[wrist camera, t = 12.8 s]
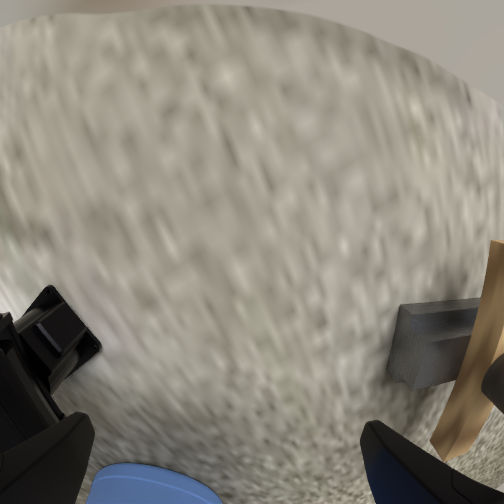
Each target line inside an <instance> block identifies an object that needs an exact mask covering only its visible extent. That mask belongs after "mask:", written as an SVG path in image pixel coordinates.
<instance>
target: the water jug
mask: <svg viewBox="0 0 504 504" xmlns="http://www.w3.org/2000/svg"><path fill="white" fill-rule="evenodd" d="M86 504H222V501H221V500H220V498H219V497H218V496H217V495H216V494H215V493H214V492H213V491H212V490H211V489H209V488H208V487H207V486H205V485H203V484H202V483H200V482H198V481H196V480H194V479H192V478H190V477H188V476H185V475H183V474H180V473H177V472H174V471H171V470H168V469H164V468H160V467H156V466H151V465H145V464H136V463H119V464H112V465H109V466H106V467H104V468H102V469H101V470H99V471H98V473H97V474H96V476H95V478H94V480H93V483H92V485H91V491H90V494H89V496H88V499H87V501H86Z"/></svg>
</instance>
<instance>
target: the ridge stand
mask: <svg viewBox="0 0 504 504" xmlns="http://www.w3.org/2000/svg"><path fill="white" fill-rule="evenodd" d="M480 300H481V297H480V298H471V299H462V300H451V301H440V302H429V303H416V304H402V305H400V310H399V315H398V320H397V325H396V330H395V335H394V339H393V344H392V348H391V353H390V357H389V361H388V365H387V369H386V370H387V372H388V373H389V374H390V376H391V377H392V378H393V380H394V381H395V383H397V382H402V381H405V382H406V383H407V384H408V385H409V387H410V388H411V389H412V390H416V389H421V388H425V387H429V386H434V385H438V384H442V383H446V382H450V381H454V380H457V377H458V374H459V371H460V369H461V366H462V363H463V360H464V357H465V354H466V351H467V348H468V345H469V341H470V338H471V334H472V331H473V327H474V324H475V320H476V316H477V312H478V308H479V304H480Z"/></svg>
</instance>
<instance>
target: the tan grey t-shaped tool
mask: <svg viewBox="0 0 504 504" xmlns="http://www.w3.org/2000/svg"><path fill="white" fill-rule="evenodd" d="M494 405H495V406H496V407H497V408H498V409H499V410H500V411H501V412H502V413H503V414H504V241H500V240H491V243H490V250H489V257H488V264H487V269H486V275H485V280H484V285H483V290H482V295H481V300H480V304H479V308H478V312H477V316H476V320H475V324H474V327H473V331H472V334H471V338H470V341H469V345H468V348H467V351H466V354H465V357H464V360H463V363H462V366H461V369H460V371H459V374H458V377H457V380H456V382H455V385H454V387H453V390H452V392H451V395H450V397H449V400H448V402H447V404H446V407H445V409H444V411H443V414H442V416H441V418H440V420H439V422H438V424H437V427H436V429H435V431H434V433H433V435H432V437H431V439H430V442H431V444H432V445H433V447H434V448H435V450H436V452H437V453H438V455H439V456H440V458H441V459H442V461H443V462H444V461H447V460H449V459H452V458H454V457H457V456H459V455H462V454H464V453H466V452H468V451H469V449H470V448H471V446H472V444H473V443H474V441H475V439H476V438H477V436H478V434H479V432H480V431H481V429H482V427H483V425H484V423H485V421H486V420H487V418H488V416H489V414H490V412H491V410H492V408H493V406H494Z"/></svg>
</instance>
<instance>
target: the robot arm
mask: <svg viewBox="0 0 504 504" xmlns="http://www.w3.org/2000/svg"><path fill="white" fill-rule="evenodd" d="M49 290H50V291H51V293H50V292H49ZM12 320H13V318H12V316H11V314H10V312H7V313H3V314H2V313H0V504H75V502H76V499H77V496H78V493H79V490H80V487H81V484H82V482H83V479H84V476H85V473H86V470H87V466H88V461H89V457H90V453H91V449H92V445H93V441H94V437H95V432H94V428H93V426H92V423H91V421H90V418H89V416H88V415H87V414H85V413H81V412H75V413H73V414H71V415H70V416H68V417H66V416H65V415H64V413H62V412H61V411H60V409H59V408H58V406H57V404H56V403H55V401H54V400H53V398H52V396H51V395H52V394H53V393H54V392H55V390H56V389H57V388H58V387H59V385H60V384H61V383H62V381H63V380H64V379H66V378H67V377H68V376H70V375H71V374H72V373H73V372H74V371H76V370H77V369H78V368H79V367H80V366H82V365H83V364H84V363H85V362H86V361H88V360H89V359H90V358H91V357H92V356H94V355H95V354H96V353H97V352H98V351H99V350H100V349H101V343H100V341H99V340H98V339H97V338H96V337H95V336H94V335H93V334H92V333H91V331H90V330H89V329H88V328H87V327H86V326H85V325H84V323H83V322H82V321H81V320H80V319H79V318H78V316H77V315H76V314H75V313H74V312H73V310H72V309H71V308H70V307H69V305H68V304H67V303H66V302H65V300H64V299H63V298H62V297H61V295H60V294H59V293H58V291H57V290H56V289H55V287H54V286H52V285H48V286H47V287H45V288H44V289H43V291H42V292H41V293H40V294H39V295H38V297H37V298H36V299H35V300H34V302H33V303H32V304H31V306H30V307H29V308H28V309H27V311H26V312H25V313H24V315H23V316H22V317H21V318H20V319H18V320H17V321H16V322H14V323H13V322H12ZM93 344H95V345H96V346H97V347H95V346H94V345H93ZM360 446H361V451H362V455H363V460H364V465H365V469H366V474H367V479H368V482H369V485H370V488H371V491H372V494H373V497H374V500H375V503H376V504H504V493H503V492H500V491H498V490H495V489H493V488H491V487H488V486H486V485H483V484H481V483H479V482H477V481H475V480H473V479H471V478H469V477H467V476H465V475H463V474H462V473H460V472H458V471H457V470H455V469H452V468H451V467H450V466H448V465H447V464H445V463H443V462H442V461H440V460H438V459H437V458H435V457H434V456H432V455H431V454H429V453H427V452H426V451H424V450H423V449H421V448H420V447H418V446H417V445H415V444H413V443H412V442H410V441H409V440H407V439H406V438H404V437H403V436H401V435H400V434H398V433H397V432H395V431H394V430H392V429H391V428H389V427H388V426H386V425H385V424H384V423H382V422H381V421H379V420H374V421H368V422H366V424H365V426H364V429H363V432H362V435H361V438H360Z"/></svg>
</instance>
